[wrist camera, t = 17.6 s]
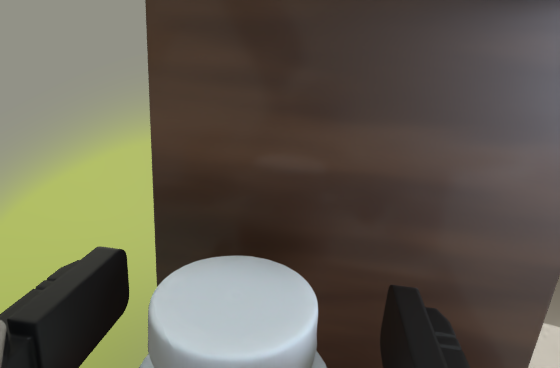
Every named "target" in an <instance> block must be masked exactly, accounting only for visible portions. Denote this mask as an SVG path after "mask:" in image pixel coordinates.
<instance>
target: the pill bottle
mask: <svg viewBox="0 0 560 368" xmlns="http://www.w3.org/2000/svg"><path fill="white" fill-rule="evenodd" d="M317 322H318V302H317V298H316V295H315V293H314V291H313V289H312V287H311V286H310V285H309V283H308V282H307V281H306V280H305V279H304V278H303V277H302V276H301V275H299V274H298V273H297V272H295V271H294V270H292V269H290V268H288V267H287V266H285V265H283V264H280V263H277V262H274V261H271V260H268V259H264V258H257V257H253V256H220V257H212V258H207V259H202V260H199V261H195V262H192V263H190V264H188V265H185V266H183V267H181V268H180V269H178V270H176V271H174V272H173V273H171V274H170V275H169V276H167V277H166V278H165V279H164V280H163V281H162V282H161V283H160V284H159V285H158V287H157V288H156V290H155V291H154V293H153V295H152V297H151V300H150V304H149V311H148V352H149V354H148V355H147V357H146V358H145V359H144V361H143V362H142V364H141V365H140V367H139V368H327V367H326V364H325V362H324V361H323V359H322V358H321V356H320V355H319V353H318V352H317V350H316V349H317Z"/></svg>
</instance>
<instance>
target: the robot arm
mask: <svg viewBox="0 0 560 368" xmlns="http://www.w3.org/2000/svg"><path fill="white" fill-rule="evenodd" d="M128 300H129V283H128V268H127V256H126V253H125V251H124V250H122V249H114V248H107V247H97V248H95V249H94V250H93V251H91V252H90V253H89V254H87V255H86V256H85V257H84V258H82V259H81V260H77V261H75V262H73V263H71V264H69V265H66V266H64V267H62V268H60V269H59V270H57V271H56V272H55V273H53V274H52V275H51V276H49V277H48V278H47V280H45V281H43V282H42V283H40V284H39V285H38V286H36V289H33V290H31V291H30V292H29V293H27V294H26V295H25V296H23V297H22V298H21V299H19V300H18V301H17V302H15V303H14V304H13V305H12V306H10V307H9V308H8V309H6V310H5V311H4V312H3V313H1V314H0V368H79V366H80V365H81V364H82V363H83V362H84V360H85V359H86V358H87V357H88V355H89V354H90V353H91V352H92V351H93V349H94V348H95V347H96V346H97V344H98V343H99V342H100V341H101V340H102V338H103V337H104V336H105V335H106V334H107V332H108V331H109V330H110V329H111V328H112V326H113V325H114V324H115V323H116V321H117V320H118V319H119V318H120V316H121V315H122V314H123V313H124V311H125V309H126V306H127V304H128ZM380 352H381V358H382V364H383V368H470V365H469V363H468V361H467V359H466V357H465V354H464V352H463V351H462V348H461V346H460V343H459V341H458V339H456V335H455V332H454V330H453V328H452V326H451V323H450V322H449V321H448V320H447V319H446V318H445V317H444V316H443V315H442V314H441V313H440V312H439V311H438V310H437V309H436V308H429V307H425V305H424V303H423V300H422V297H421V295H420V292H419V290H418V288H414V287H406V286H398V285H390V286H389V289H388V293H387V299H386V304H385V310H384V315H383V321H382V326H381V333H380Z"/></svg>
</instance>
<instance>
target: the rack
mask: <svg viewBox="0 0 560 368" xmlns="http://www.w3.org/2000/svg"><path fill="white" fill-rule="evenodd" d="M146 25H147V46H148V47H147V49H148V73H149V97H150V124H151V148H152V172H153V198H154V223H155V247H156V272H157V287H158V285H159V284H160V283H161V282H162V281H163V280H164V279H165V278H166V277H167V276H169V275H170V274H171V273H173V272H174V271H176V270H178V269H180V268H181V267H183V266H185V265H188V264H190V263H192V262H195V261H199V260H202V259H207V258H212V257H220V256H253V257H257V258H264V259H268V260H271V261H274V262H277V263H280V264H283V265H285V266H287V267H288V268H290V269H292V270H294V271H295V272H297V273H298V274H299V275H301V276H302V277H303V278H304V279H305V280H306V281H307V282H308V283H309V285H310V286H311V287H312V289H313V291H314V293H315V295H316V298H317V302H318V322H317V349H316V350H317V352H318V353H319V355H320V356H321V358H322V359H323V361H324V362H325V364H326V367H327V368H383V364H382V358H381V352H380V333H381V326H382V321H383V315H384V310H385V304H386V299H387V293H388V289H389V286H390V285H398V286H406V287H414V288H418V290H419V292H420V295H421V297H422V300H423V303H424V305H425V307H429V308H436V309H437V310H438V311H439V312H440V313H441V314H442V315H443V316H444V317H445V318H446V319H447V320H448V321H449V322H450V323H451V326H452V328H453V330H454V332H455V335H456V339H458V341H459V343H460V346H461V348H462V351H463V352H464V354H465V357H466V359H467V361H468V363H469V365H470V368H528V366H529V363H530V360H531V357H532V354H533V351H534V349H535V346H536V343H537V340H538V337H539V334H540V331H541V328H542V325H543V322H544V319H545V316H546V314H547V311H548V308H549V305H550V302H551V299H552V296H553V293H554V290H555V287H556V284H557V281H558V279H559V275H560V0H146Z"/></svg>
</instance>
